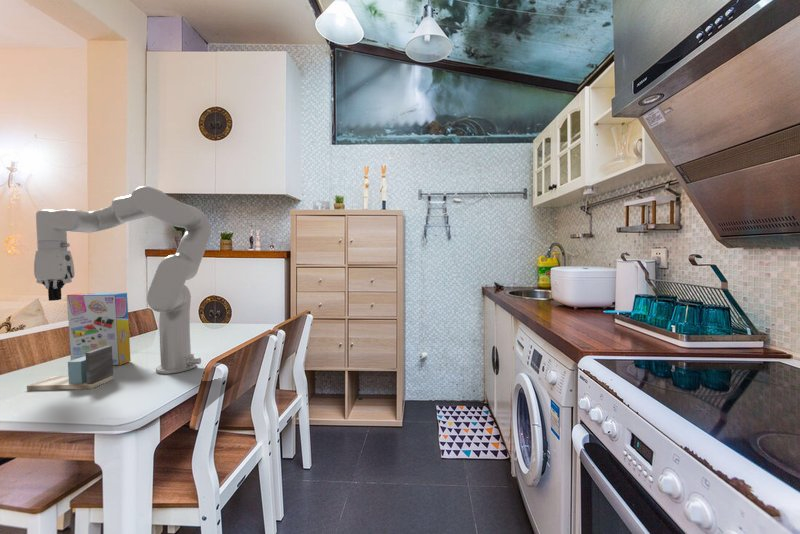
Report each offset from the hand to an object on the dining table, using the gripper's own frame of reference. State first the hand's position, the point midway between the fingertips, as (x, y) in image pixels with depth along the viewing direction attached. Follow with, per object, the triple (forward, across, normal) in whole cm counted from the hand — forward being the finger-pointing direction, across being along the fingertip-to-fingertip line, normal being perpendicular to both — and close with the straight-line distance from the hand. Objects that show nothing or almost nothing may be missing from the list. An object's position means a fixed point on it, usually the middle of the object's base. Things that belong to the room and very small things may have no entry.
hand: (55, 300), depth 129 cm
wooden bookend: (+27, -12, +9) cm, 30 cm away
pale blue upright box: (+25, -16, +9) cm, 31 cm away
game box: (+27, -3, -15) cm, 31 cm away
